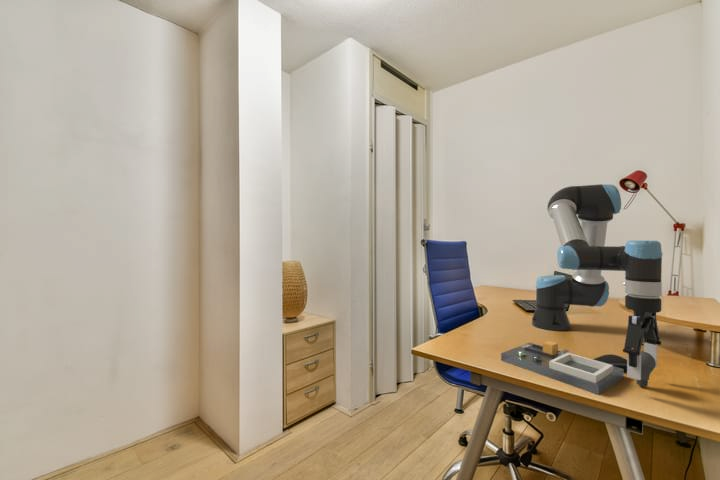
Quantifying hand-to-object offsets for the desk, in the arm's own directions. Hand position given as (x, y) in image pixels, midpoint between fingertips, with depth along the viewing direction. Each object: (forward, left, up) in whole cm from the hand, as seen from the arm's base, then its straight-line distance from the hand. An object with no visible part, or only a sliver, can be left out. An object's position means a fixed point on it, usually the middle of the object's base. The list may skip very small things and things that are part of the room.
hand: (642, 372), depth 88 cm
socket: (+8, -12, -2) cm, 15 cm away
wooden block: (+2, -23, -2) cm, 24 cm away
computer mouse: (-9, -10, -5) cm, 14 cm away
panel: (+6, -19, -4) cm, 20 cm away
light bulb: (0, 0, -5) cm, 5 cm away
